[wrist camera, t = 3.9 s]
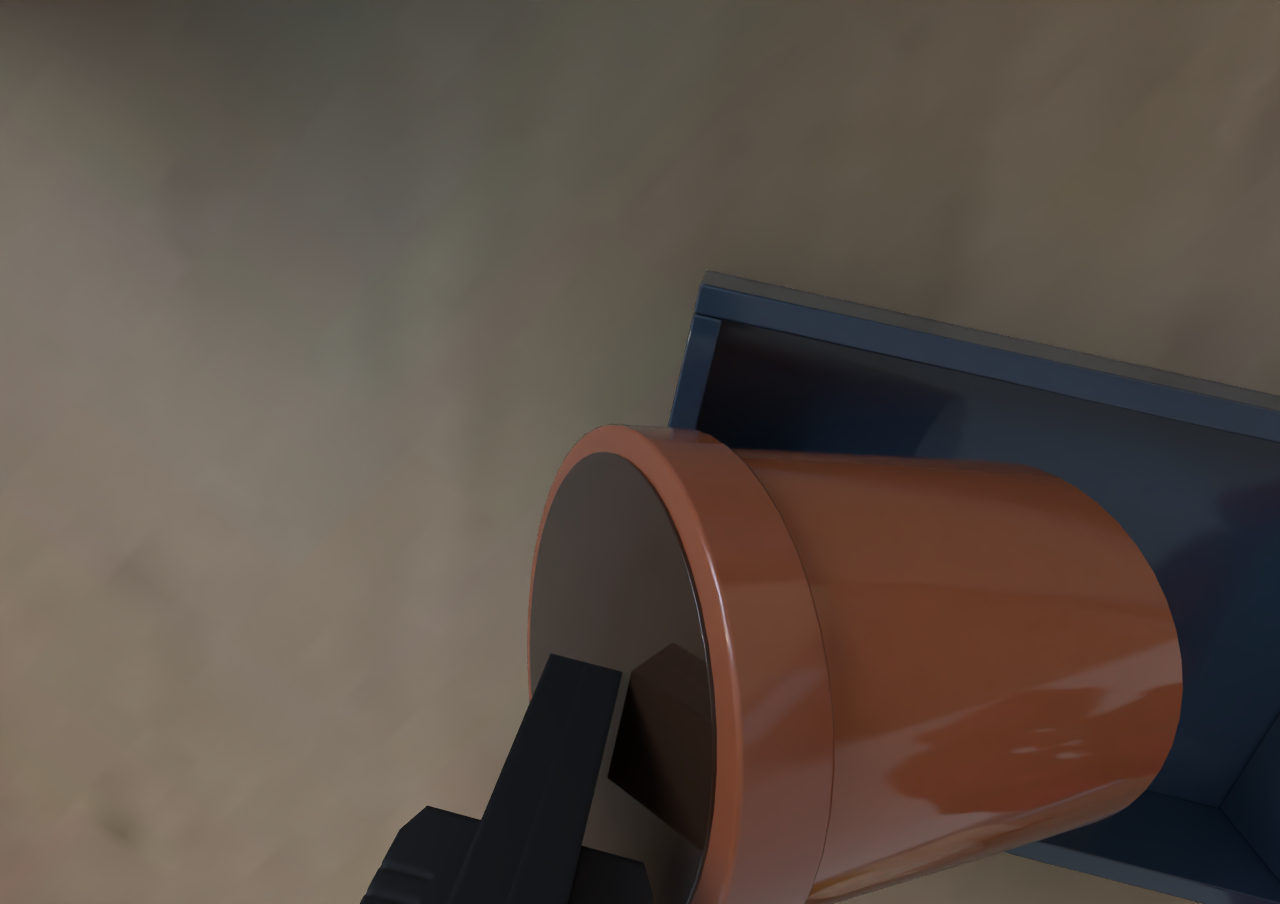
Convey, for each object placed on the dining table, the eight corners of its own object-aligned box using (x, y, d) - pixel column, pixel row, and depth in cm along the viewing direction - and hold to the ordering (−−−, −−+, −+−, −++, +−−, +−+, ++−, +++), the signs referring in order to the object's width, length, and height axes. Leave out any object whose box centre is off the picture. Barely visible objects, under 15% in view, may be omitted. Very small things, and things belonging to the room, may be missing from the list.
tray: (706, 269, 23) (700, 283, 18) (1462, 435, 21) (1648, 492, 17) (616, 664, 28) (595, 747, 24) (1217, 815, 27) (1311, 932, 22)
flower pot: (604, 326, 23) (404, 508, 9) (1081, 433, 22) (1688, 817, 8) (553, 605, 27) (354, 1047, 13) (960, 705, 26) (1232, 1292, 12)
